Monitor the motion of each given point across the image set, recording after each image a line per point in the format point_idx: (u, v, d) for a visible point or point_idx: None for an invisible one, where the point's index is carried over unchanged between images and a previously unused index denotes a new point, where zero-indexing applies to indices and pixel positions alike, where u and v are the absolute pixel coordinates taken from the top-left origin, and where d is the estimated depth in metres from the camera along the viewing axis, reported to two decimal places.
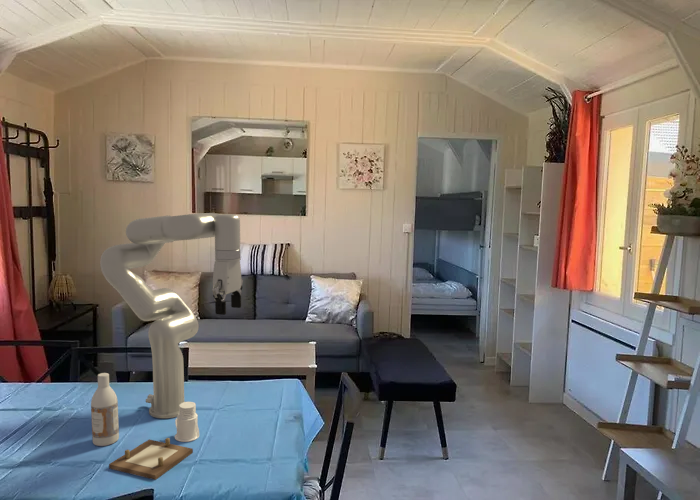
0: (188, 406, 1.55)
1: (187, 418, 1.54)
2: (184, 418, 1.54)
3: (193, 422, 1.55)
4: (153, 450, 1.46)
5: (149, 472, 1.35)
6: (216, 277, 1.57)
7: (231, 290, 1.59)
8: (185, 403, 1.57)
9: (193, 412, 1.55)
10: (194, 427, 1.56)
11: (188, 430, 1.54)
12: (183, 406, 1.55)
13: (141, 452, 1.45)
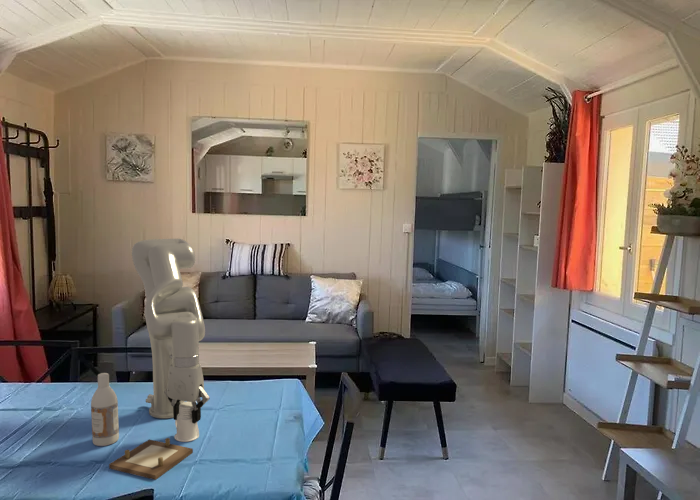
0: (188, 406, 1.55)
1: (187, 418, 1.54)
2: (184, 418, 1.54)
3: None
4: (153, 450, 1.46)
5: (149, 472, 1.35)
6: (198, 384, 1.53)
7: None
8: (185, 403, 1.57)
9: None
10: (194, 427, 1.56)
11: (188, 430, 1.54)
12: (183, 406, 1.55)
13: (141, 452, 1.45)
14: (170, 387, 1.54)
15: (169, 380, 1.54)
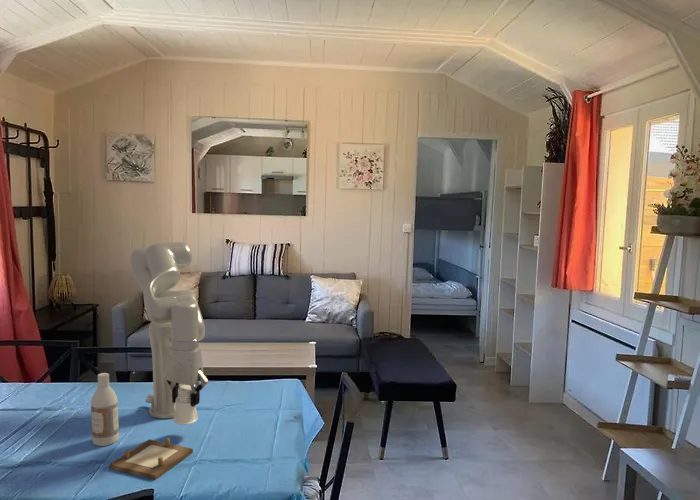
0: (187, 389, 1.55)
1: (186, 401, 1.55)
2: (183, 401, 1.54)
3: None
4: (153, 450, 1.46)
5: (149, 472, 1.35)
6: (197, 367, 1.52)
7: None
8: (184, 386, 1.57)
9: None
10: (192, 410, 1.56)
11: (187, 413, 1.55)
12: (182, 389, 1.55)
13: (141, 452, 1.45)
14: (169, 370, 1.54)
15: (168, 363, 1.54)
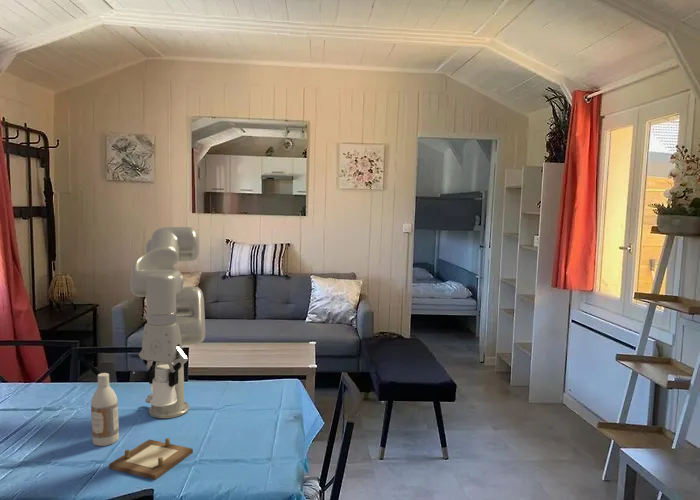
0: (164, 368, 1.44)
1: (163, 381, 1.44)
2: (160, 381, 1.43)
3: None
4: (153, 450, 1.46)
5: (149, 472, 1.35)
6: (175, 343, 1.42)
7: None
8: (161, 366, 1.46)
9: None
10: (171, 391, 1.45)
11: (165, 394, 1.44)
12: (159, 368, 1.44)
13: (141, 452, 1.45)
14: (145, 347, 1.43)
15: (144, 340, 1.43)
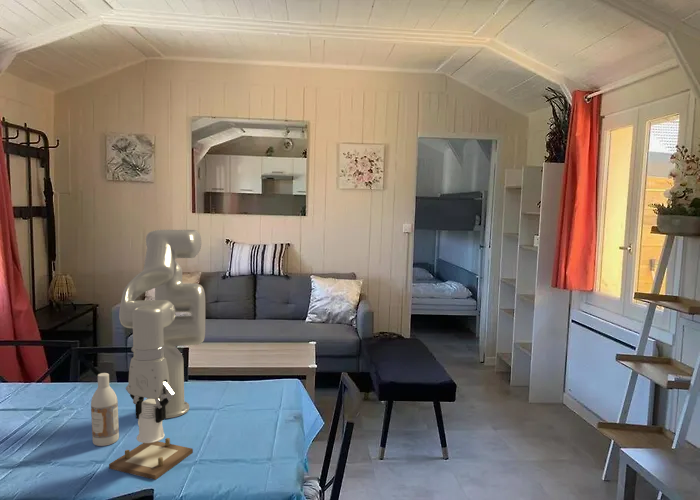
0: (151, 403, 1.40)
1: (150, 417, 1.40)
2: (147, 417, 1.40)
3: None
4: (153, 450, 1.46)
5: (149, 472, 1.35)
6: (162, 379, 1.38)
7: None
8: (148, 400, 1.42)
9: None
10: (158, 427, 1.41)
11: (151, 430, 1.40)
12: (146, 403, 1.40)
13: (141, 452, 1.45)
14: (131, 382, 1.40)
15: (130, 375, 1.40)
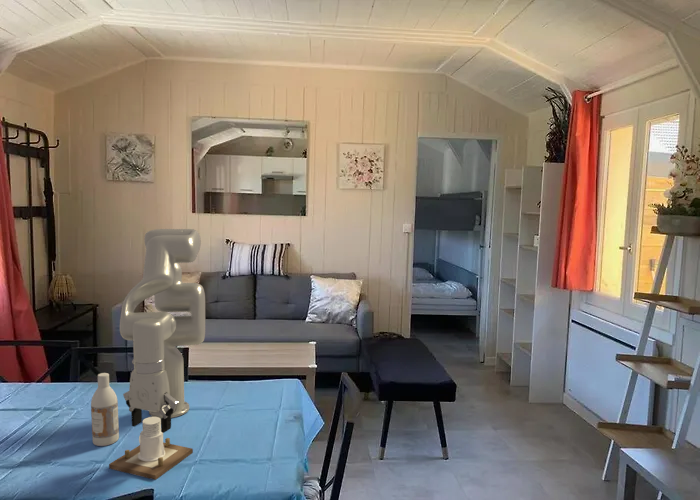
0: (152, 422, 1.41)
1: (151, 435, 1.41)
2: (147, 435, 1.40)
3: (157, 439, 1.41)
4: None
5: (149, 472, 1.35)
6: (162, 392, 1.39)
7: None
8: (149, 418, 1.43)
9: (158, 428, 1.42)
10: (159, 445, 1.42)
11: (152, 448, 1.41)
12: (147, 422, 1.41)
13: None
14: (132, 395, 1.40)
15: (131, 387, 1.40)
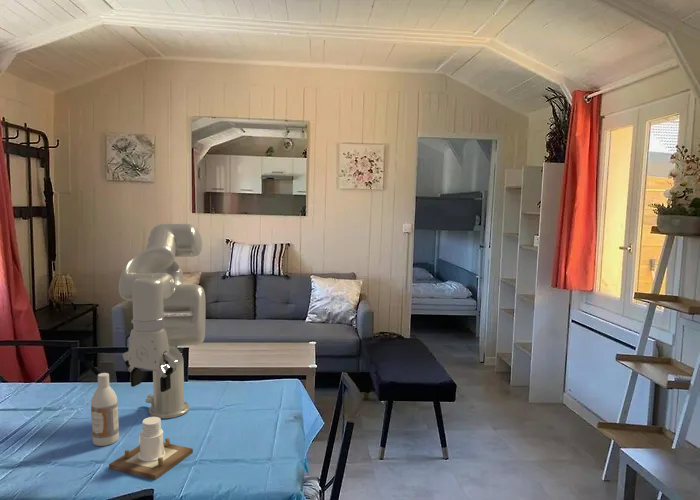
0: (152, 422, 1.41)
1: (151, 435, 1.41)
2: (147, 435, 1.40)
3: (157, 440, 1.41)
4: None
5: (149, 472, 1.35)
6: (161, 350, 1.37)
7: None
8: (149, 418, 1.43)
9: (158, 428, 1.42)
10: (159, 445, 1.42)
11: (152, 449, 1.41)
12: (147, 422, 1.41)
13: None
14: (131, 354, 1.39)
15: (130, 346, 1.39)
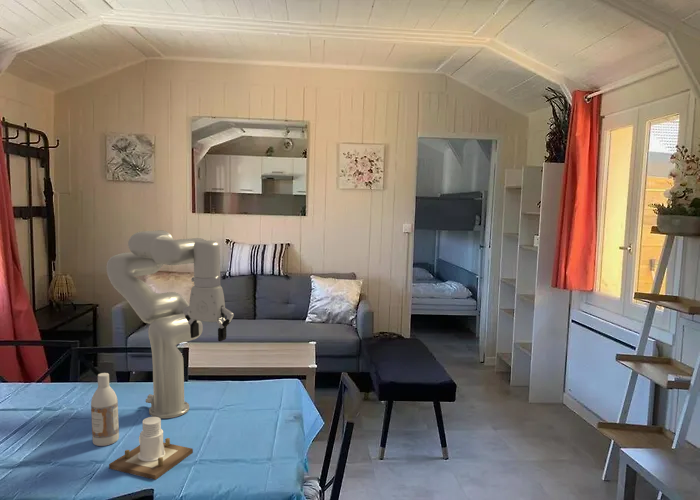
0: (152, 422, 1.41)
1: (151, 435, 1.41)
2: (147, 435, 1.40)
3: (157, 439, 1.41)
4: None
5: (149, 472, 1.35)
6: (219, 304, 1.56)
7: None
8: (149, 418, 1.43)
9: (158, 428, 1.42)
10: (159, 445, 1.42)
11: (152, 449, 1.41)
12: (147, 422, 1.41)
13: None
14: (192, 308, 1.57)
15: (191, 301, 1.57)
